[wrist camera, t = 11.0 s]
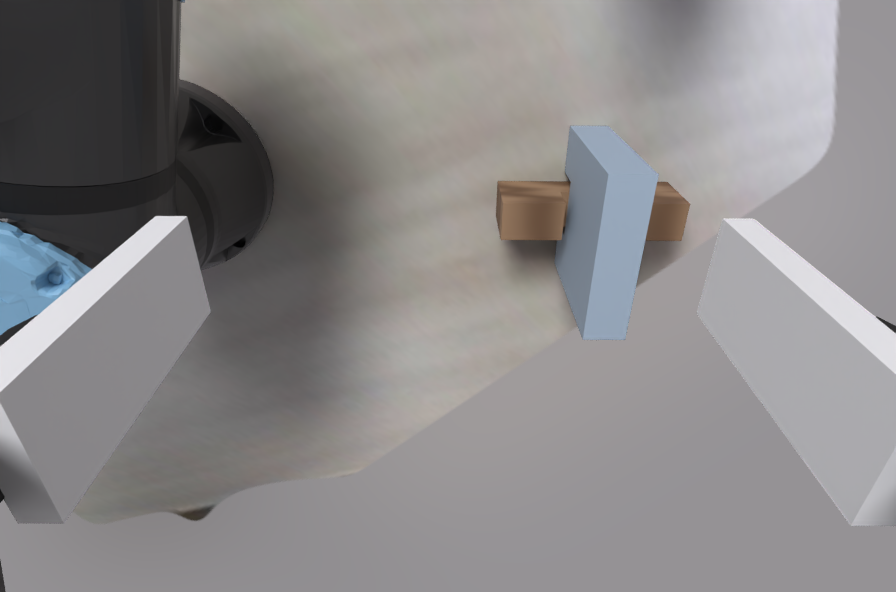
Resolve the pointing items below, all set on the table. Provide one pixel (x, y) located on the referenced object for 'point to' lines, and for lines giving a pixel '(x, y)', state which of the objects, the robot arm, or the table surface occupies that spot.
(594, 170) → the pale blue upright slab
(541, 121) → the table surface
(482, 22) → the table surface
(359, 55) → the table surface
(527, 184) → the walnut u-shaped block
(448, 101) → the table surface
